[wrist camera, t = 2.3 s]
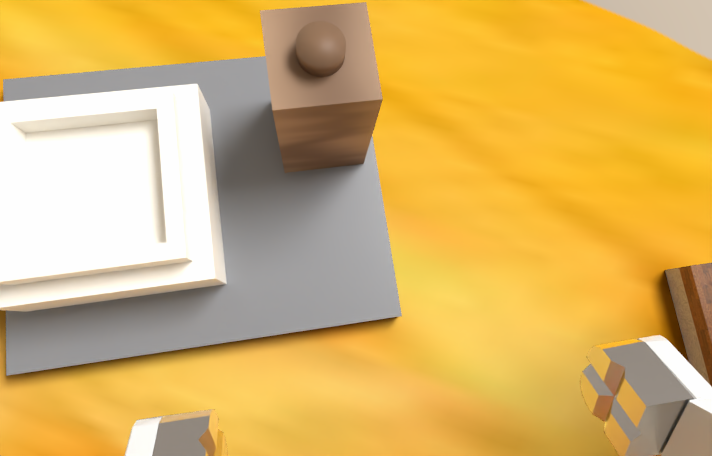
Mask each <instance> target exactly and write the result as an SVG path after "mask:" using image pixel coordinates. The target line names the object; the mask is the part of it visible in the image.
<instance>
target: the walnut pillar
mask: <svg viewBox="0 0 712 456" xmlns="http://www.w3.org/2000/svg"><path fill="white" fill-rule="evenodd" d="M260 14H261V22H262V30H263V38H264V46H265V55H266V63H267V71H268V79H269V87H270V95H271V103H272V111H273V116H274V121H275V126H276V131H277V136H278V141H279V147H280V152H281V157H282V162H283V167H284V172H285V173H288V172H297V171H306V170H314V169H323V168H332V167H341V166H349V165H358V164H364V161H365V158H366V154H367V151H368V147H369V144H370V141H371V137H372V134H373V130H374V127H375V123H376V120H377V117H378V113H379V110H380V106H381V103H382V93H381V87H380V81H379V75H378V70H377V64H376V58H375V52H374V46H373V40H372V34H371V28H370V23H369V17H368V11H367V5H366V2H365V3H352V4H339V5H326V6H314V7H301V8H288V9H275V10H263V11H260Z"/></svg>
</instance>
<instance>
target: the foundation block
mask: <svg viewBox="0 0 712 456" xmlns="http://www.w3.org/2000/svg"><path fill="white" fill-rule="evenodd" d="M224 284H227V282H226V272H225V262H224V251H223V241H222V231H221V220H220V210H219V200H218V189H217V179H216V169H215V158H214V148H213V138H212V127H211V117H210V109H209V107H208V105H207V103H206V101H205V99H204V97H203V94H202V92H201V90H200V88H199V86H198V84H188V85H177V86H166V87H156V88H145V89H134V90H123V91H113V92H102V93H91V94H80V95H70V96H59V97H48V98H38V99H27V100H16V101H5V102H0V310H7V311H24V312H28V311H35V310H43V309H50V308H57V307H64V306H72V305H79V304H86V303H93V302H101V301H108V300H115V299H122V298H130V297H137V296H144V295H151V294H159V293H166V292H173V291H180V290H188V289H195V288H202V287H209V286H217V285H224Z"/></svg>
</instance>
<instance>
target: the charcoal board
mask: <svg viewBox="0 0 712 456" xmlns="http://www.w3.org/2000/svg"><path fill="white" fill-rule="evenodd" d="M188 84H198V86H199V88H200V90H201V92H202V94H203V97H204V99H205V101H206V103H207V105H208V107H209V109H210V117H211V127H212V138H213V148H214V158H215V169H216V179H217V189H218V200H219V210H220V220H221V231H222V241H223V251H224V262H225V272H226V282H227V284H224V285H217V286H209V287H202V288H195V289H188V290H180V291H173V292H166V293H159V294H151V295H144V296H137V297H130V298H122V299H115V300H108V301H101V302H93V303H86V304H79V305H72V306H64V307H57V308H50V309H43V310H35V311H28V312H24V311H7V310H6V376H7V375H14V374H21V373H27V372H34V371H40V370H47V369H54V368H60V367H67V366H74V365H80V364H87V363H93V362H100V361H107V360H113V359H120V358H127V357H133V356H140V355H147V354H153V353H160V352H166V351H173V350H180V349H186V348H193V347H200V346H206V345H213V344H219V343H226V342H233V341H239V340H246V339H253V338H259V337H266V336H273V335H279V334H286V333H292V332H299V331H306V330H312V329H319V328H326V327H332V326H339V325H345V324H352V323H359V322H365V321H372V320H379V319H385V318H392V317H399V316H402V315H401V309H400V303H399V297H398V291H397V284H396V278H395V272H394V266H393V260H392V254H391V248H390V242H389V235H388V229H387V223H386V217H385V211H384V205H383V199H382V193H381V186H380V180H379V174H378V168H377V162H376V156H375V150H374V144H373V137H371V141H370V144H369V147H368V151H367V154H366V158H365V161H364V164H358V165H349V166H341V167H332V168H323V169H314V170H306V171H297V172H288V173H285V172H284V167H283V162H282V157H281V152H280V147H279V141H278V136H277V131H276V126H275V121H274V116H273V111H272V103H271V95H270V87H269V79H268V71H267V63H266V56H265V57H253V58H242V59H231V60H219V61H208V62H197V63H186V64H174V65H163V66H152V67H140V68H129V69H118V70H106V71H95V72H84V73H73V74H61V75H50V76H39V77H27V78H16V79H5V80H3V90H4V102H5V101H16V100H27V99H38V98H48V97H59V96H70V95H80V94H91V93H102V92H113V91H123V90H134V89H145V88H156V87H166V86H177V85H188Z"/></svg>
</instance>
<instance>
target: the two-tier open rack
mask: <svg viewBox="0 0 712 456" xmlns="http://www.w3.org/2000/svg"><path fill="white" fill-rule="evenodd" d="M665 273H666V277H667V281H668V284H669V288H670V292H671V296H672V300H673V303H674V307H675V311H676V315H677V319H678V322H679V326H680V330H681V334H682V338H683V341H684V345H685V349H686V353H687V357H688V360H689V363H690V364H691V365H692V366H693V367H694V368H695V370H696V371H697V372H698V373H699V374H700V375H701V376H702V377H703V378H704V379H705V380H706V381H707V382H708V383H709V384H710V385H711V387H712V263H707V264H700V265H693V266H687V267H681V268H675V269H669V270H665Z"/></svg>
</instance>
